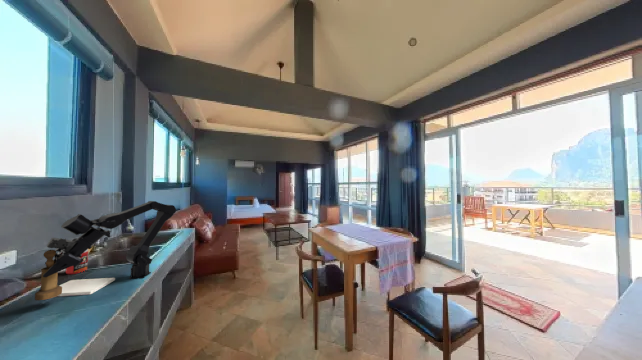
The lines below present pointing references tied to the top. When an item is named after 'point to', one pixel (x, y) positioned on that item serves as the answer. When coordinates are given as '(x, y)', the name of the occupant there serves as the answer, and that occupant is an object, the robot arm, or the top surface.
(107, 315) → the top surface
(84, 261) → the canned food
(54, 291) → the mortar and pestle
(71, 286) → the tile
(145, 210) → the robot arm
